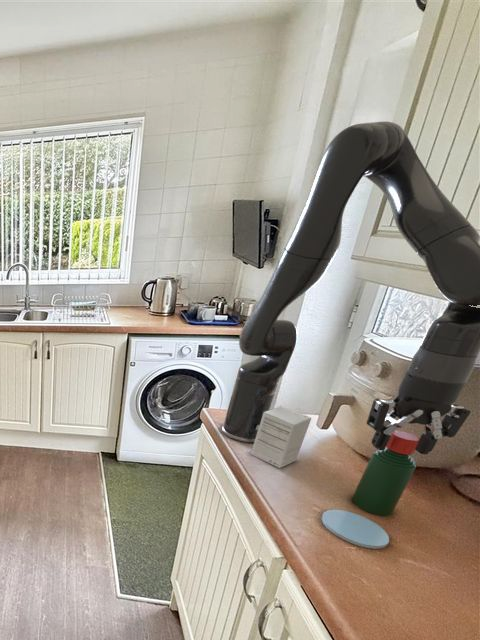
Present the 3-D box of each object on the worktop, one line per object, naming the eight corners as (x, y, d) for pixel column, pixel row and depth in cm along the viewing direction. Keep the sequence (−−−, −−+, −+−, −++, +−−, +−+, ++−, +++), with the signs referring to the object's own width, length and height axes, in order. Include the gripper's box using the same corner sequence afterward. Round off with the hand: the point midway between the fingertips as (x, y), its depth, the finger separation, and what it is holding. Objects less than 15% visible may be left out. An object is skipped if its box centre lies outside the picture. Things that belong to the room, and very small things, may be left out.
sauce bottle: (345, 494, 91) (374, 428, 84) (379, 498, 89) (412, 432, 82) (362, 513, 85) (396, 444, 78) (399, 518, 83) (437, 448, 77)
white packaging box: (266, 447, 108) (280, 405, 103) (296, 461, 102) (313, 417, 97) (249, 454, 106) (262, 411, 100) (279, 469, 99) (295, 424, 94)
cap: (393, 453, 80) (400, 439, 79) (381, 443, 83) (387, 429, 82) (417, 456, 79) (425, 441, 78) (404, 445, 82) (410, 431, 81)
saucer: (311, 509, 86) (313, 506, 86) (367, 516, 84) (369, 513, 84) (337, 543, 77) (339, 540, 77) (401, 553, 75) (403, 550, 75)
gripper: (467, 369, 76) (427, 444, 83) (376, 363, 79) (345, 436, 86) (505, 385, 69) (458, 465, 76) (404, 378, 72) (368, 456, 79)
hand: (398, 449), depth 81 cm, fingers open, 6 cm apart
